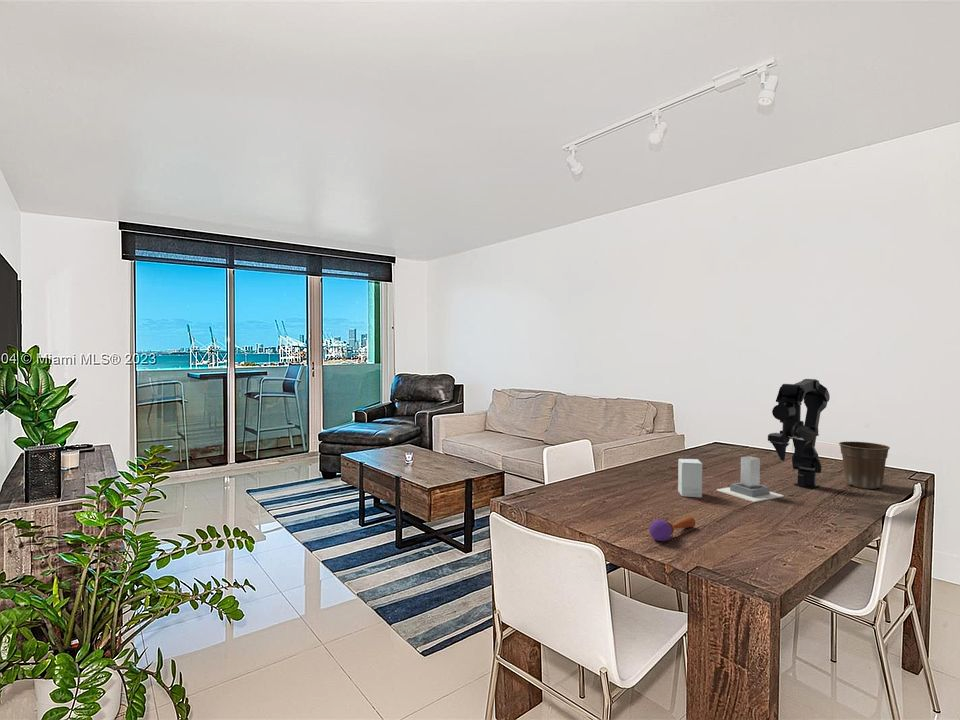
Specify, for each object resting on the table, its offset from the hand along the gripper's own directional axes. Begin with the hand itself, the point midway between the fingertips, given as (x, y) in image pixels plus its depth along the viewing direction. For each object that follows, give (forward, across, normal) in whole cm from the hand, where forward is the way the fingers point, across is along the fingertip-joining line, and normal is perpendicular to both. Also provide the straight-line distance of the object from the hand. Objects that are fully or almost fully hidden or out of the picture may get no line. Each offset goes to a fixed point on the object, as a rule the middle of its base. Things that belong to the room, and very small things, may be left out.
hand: (790, 459), depth 195 cm
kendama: (+14, -70, -11) cm, 72 cm away
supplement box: (+13, -34, +16) cm, 40 cm away
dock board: (+14, -13, +7) cm, 20 cm away
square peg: (+13, -13, +7) cm, 19 cm away
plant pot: (+13, +37, -5) cm, 40 cm away
